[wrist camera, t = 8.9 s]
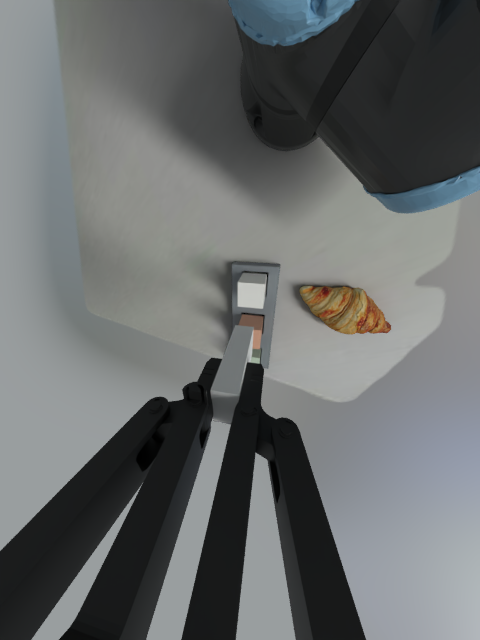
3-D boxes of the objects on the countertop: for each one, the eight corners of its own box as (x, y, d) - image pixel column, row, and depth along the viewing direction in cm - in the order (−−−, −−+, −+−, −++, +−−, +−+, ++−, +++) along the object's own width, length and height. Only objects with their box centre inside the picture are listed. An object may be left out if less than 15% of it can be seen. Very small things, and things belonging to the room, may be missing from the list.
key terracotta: (242, 314, 46) (237, 327, 41) (263, 316, 45) (261, 330, 40) (241, 331, 48) (237, 346, 43) (261, 334, 47) (259, 349, 42)
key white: (243, 272, 41) (237, 282, 35) (266, 274, 40) (264, 284, 35) (242, 294, 43) (237, 306, 38) (265, 296, 42) (262, 308, 37)
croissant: (292, 291, 47) (285, 317, 43) (314, 262, 39) (308, 291, 35) (371, 325, 48) (371, 354, 44) (410, 304, 39) (415, 337, 35)
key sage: (243, 341, 53) (239, 355, 48) (261, 343, 52) (259, 358, 47) (243, 355, 56) (239, 370, 51) (260, 357, 55) (258, 372, 50)
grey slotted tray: (234, 261, 43) (231, 264, 40) (280, 264, 41) (280, 267, 39) (234, 357, 57) (232, 363, 55) (268, 362, 55) (268, 368, 53)
